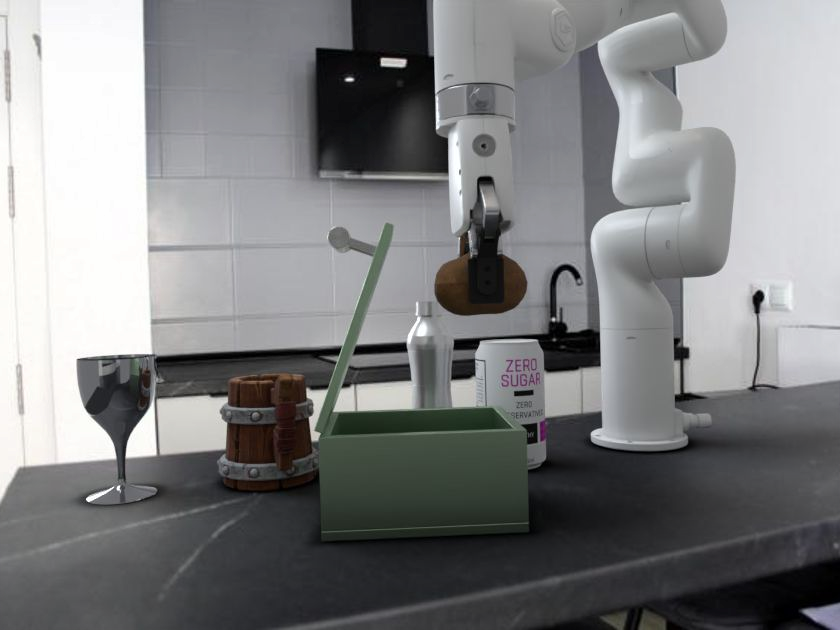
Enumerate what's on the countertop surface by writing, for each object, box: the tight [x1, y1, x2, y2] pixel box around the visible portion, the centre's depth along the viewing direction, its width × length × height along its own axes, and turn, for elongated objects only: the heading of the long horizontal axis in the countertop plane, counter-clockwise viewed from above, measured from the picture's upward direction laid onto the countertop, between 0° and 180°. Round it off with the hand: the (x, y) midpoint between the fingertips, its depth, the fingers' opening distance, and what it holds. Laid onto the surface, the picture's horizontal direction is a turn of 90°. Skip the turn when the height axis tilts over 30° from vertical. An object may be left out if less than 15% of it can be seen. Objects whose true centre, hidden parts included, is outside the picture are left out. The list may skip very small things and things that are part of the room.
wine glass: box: [75, 353, 158, 506], centre depth 76 cm, size 8×8×15 cm
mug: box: [216, 373, 319, 492], centre depth 80 cm, size 12×14×15 cm
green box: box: [317, 406, 530, 543], centre depth 67 cm, size 18×14×9 cm
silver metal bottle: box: [406, 300, 455, 409], centre depth 94 cm, size 6×7×20 cm
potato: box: [433, 252, 529, 317], centre depth 67 cm, size 7×10×6 cm
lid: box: [313, 221, 395, 434], centre depth 66 cm, size 19×14×5 cm
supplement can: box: [474, 338, 547, 470], centre depth 85 cm, size 8×8×15 cm
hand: (479, 302), depth 67 cm, fingers closed on potato, 7 cm apart
